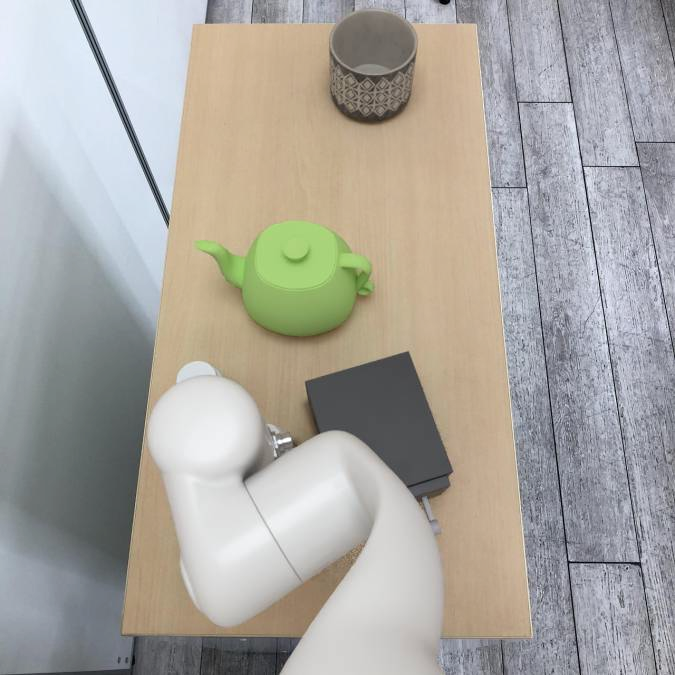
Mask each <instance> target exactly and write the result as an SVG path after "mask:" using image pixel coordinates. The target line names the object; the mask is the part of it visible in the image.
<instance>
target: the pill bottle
mask: <svg viewBox="0 0 675 675" xmlns="http://www.w3.org/2000/svg"><path fill="white" fill-rule="evenodd" d="M199 375H215V376H221V377H224V378H225V376H224V375H223V373H222V372H221V371H220V370H219V369H218V368H217V367H215V366H212V364H209V363H208V362H206V361H202V360H194V361H190V362H188V363H187V364H185V365H184V366H182V367H181V368H180V370H179V371H178V373H177V375H176V380H175V383H176V384H177V383H179V382H181V381H182V380H185V379H188V378H190V377H195V376H199Z"/></svg>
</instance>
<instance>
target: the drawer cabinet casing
mask: <svg viewBox="0 0 675 675" xmlns="http://www.w3.org/2000/svg"><path fill="white" fill-rule="evenodd" d="M304 386H305V392H306V397H307V403H308V406H309V410H310V413H311V416H312V420H313V423H314V427H315V430H316V434H317V435H318V434H321V433H323V432H327V431H333V430H340V431H345V432H348V433H350V434H352V435H354V436H356V437H357V438H359V439H360V440H361V441H362V442H364V443H365V444H366V445H367V446H368V447H369V448H370V449H371V450H372V451H374V452H375V454H376V455H377V456H378V457H379V458H380V459H381V460H382V461H383V462H384V463H385V464H386V465H387V466H388V467H389V468H390V469H391V470H392V471H393V472H394V473H395V474H396V475H397V476H398V477H399V479H400V480H401V481H402V482H403V483H404V484H405V486H406V487H410V486H413V485H417V484H420V483H423V482H426V481H429V480H432V479H436V478H439V477H442V476H445V475H447V476H448V478H449V477H450V476H451V475H452V474H453V473H454V469H453V466H452V464H451V461H450V458H449V456H448V453H447V451H446V450H447V449H446V447H445V445H444V442H443V440H442V439H443V438H442V436H441V435H440V430H439V428H438V425H437V423H436V420H435V418H434V415H433V413H432V410H431V407H430V405H429V402H428V399H427V396H426V394H425V391H424V388H423V386H422V383H421V380H420V377H419V375H418V372H417V369H416V367H415V365H414V362H413V359H412V355H411V353H410V351H409V350H407V351H404V352H400V353H397V354H393V355H390V356H387V357H383V358H380V359H375V360H373V361H369V362H366V363H363V364H360V365H355V366H352V367H349V368H345V369H342V370H338V371H335V372H331V373H328V374H325V375H321V376H318V377H315V378H314V377H313V378H312V379H311V378H310V379H308V380H305V381H304Z"/></svg>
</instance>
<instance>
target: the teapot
mask: <svg viewBox="0 0 675 675" xmlns="http://www.w3.org/2000/svg"><path fill="white" fill-rule="evenodd" d="M193 247H195V249H197V250H199V251H201V252H203V253H205V254H207V255H209V256H210V257H212V258H213V259H214V260H215V262H216V263H217V266H218V268H219V270H220V271H219V272H220V273H221V275H222V276H223V278H224V280H225V281H226V282H228V283H229V284H230V285H232V286H234V287H235V288H238V289H240V290H241V295H242V302H243V305H244V309H245V311H246V312H247V314H248V316H249V317H250V318H251V319H252V321H253V322H255V323H256V324H258V325H259V326H261V327H263V328H264V329H267V330H269V331H271V332H274V333H276V334H279V335H284V336H289V337H312V336H317V335H321V334H324V333H328V332H330V331H332V330H334V329H336V328H338V327H339V326H341V325H342V324H343V323H344V322H345V321H346V320H347V319H348V318H349V316H350V315H351V313H352V311H353V309H354V306H355V303H356V299H357V295H360V296H368V295H371V294H373V292H374V290H375V282H374V280H371V279H370V277H371V274H372V271H373V266H372V262H371V260H370V259H369V258H367V257H366V256H365V255H362V254H360V253H359V254H358V253H354V252H352V249H351V247H350V246H349V245H348V243H347V242H346V241H345V239H343V238H342V236H340V235H339V234H338V233H337V232H335V231H334V230H331V229H330V228H328V227H326V226H324V225H321V224H318V223H315V222H311V221H306V220H305V221H304V220H288V221H287V220H286V221H281V222H278V223H275V224H271V225H270V226H268V227H266V228H265V229H264V230H262V231H261V232H260V233H259V234H258V235H257V236H256V237H255V238H254V240H253V241H252V242H251V244H250V246H249V248H248V250H247V253H246V256H240V255H238V254H237V255H236V254H233V253H231V252H230V251H229V250H228V249H227V248H226V247H225V246H224V245H221V243H217V242H216V241H212V240H207V239H199V240H196V241H194V242H193ZM358 270H359V271H360V272H359V273H358Z"/></svg>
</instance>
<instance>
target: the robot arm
mask: <svg viewBox="0 0 675 675" xmlns="http://www.w3.org/2000/svg"><path fill="white" fill-rule="evenodd" d="M292 440H293V438H292V436H291V432H290V431H286V430H284V429H283V428H282V427H281V426H279V425H276V424H274V423H273V424H272V423H266V421H265V419H264V415H263V414H262V412H261V409H260V408H259V405H258V404H257V403H256V400H255V399H254V398H253V396H252V395H251V394H250V392H248V390H246V389H245V388H244V387H243V386H242V385H240V384H239V383H238V382H236V381H234V380H232V379H230V378H228V377H225V376H224V377H221V376H215V375H199V376H195V377H190V378H188V379H185V380H182V381H181V382H179V383H177V384H173V385H172V386H171V387H170V388H168V389H167V390H166V391H165V392H164V393H163V394H162V395H161V396H160V398H159V399H158V400H157V401H156V403H155V405H154V407H153V408H152V411H151V412H150V416H149V418H148V422H147V428H146V441H147V447H148V451H149V454H150V457H151V459H152V461H153V463H154V464H155V465H156V467H157V469H158V470H159V473H160V476H161V480H162V483H163V488H164V490H165V494H166V498H167V501H168V506H169V510H170V513H171V517H172V521H173V526H174V530H175V534H176V539H177V542H178V547H179V551H180V554H179V568H180V574H181V578H182V581H183V584H184V586H185V589H186V591H187V594H188V596H189V598H190V600H191V602H193V604H194V607H196V609H197V610H198V611H199V612H200V613H201V614H203V615H204V616H205V617H206V618H207V620H209V621H210V622H211V623H213V624H214V625H216V626H218V627H221V628H234V627H237V626H240V625H243V624H245V623H246V622H248V621H250V620H251V619H252V618H254V617H256V616H258V615H259V614H261V613H262V612H264V611H265V610H267V609H268V608H269V607H271V606H272V605H274V604H275V603H276V602H278V601H280V600H281V599H283V598H284V597H286V596H287V595H288V594H289V593H291V592H293V591H294V590H296V589H297V588H299V587H300V586H301V585H303V584H305V583H306V582H307V581H308V580H310V579H311V578H313V577H315V576H316V575H317V574H319V573H320V572H322V571H323V570H324V569H326V568H327V567H329V566H331V565H332V564H334V563H335V562H337V561H338V560H339V559H341V558H342V557H344V556H345V555H347V554H349V553H350V552H352V551H353V550H355V549H356V548H357V547H359V546H361V545H362V544H363V543H365V542H366V543H365V544H364V546H363V548H362V550H361V551H360V553H359V555H358V556H357V558H356V559H355V562H354V563H353V565H351V567H350V569H349V570H348V571H347V573H346V574H345V575H344V577H343V578H342V580H341V581H340V582H339V584H338V585H337V587H336V588H335V589H334V590H333V592H332V594H331V595H330V596H329V598H327V600H326V602H325V603H324V604H323V606H322V607H321V609H320V610H319V612H318V613H317V614H316V616H315V618H314V619H313V620H312V622H311V623H310V624H309V626H308V627H307V629H306V631H305V632H304V634H303V635H302V637H301V639H300V640H299V642H298V644H297V645H296V647H295V648H294V650H293V651H292V652H291V654H290V656H289V657H288V659H287V660H286V661H285V663H284V665H283V667H282V669H281V670H280V673H279V674H278V675H447V674H446V672H445V671H444V670H443V669H442V667H441V666H440V664H439V663H438V661H437V660H438V655H439V650H440V644H441V639H442V632H443V627H444V626H443V625H444V619H445V618H444V617H445V599H446V598H445V575H444V567H443V561H442V556H441V552H440V547H439V544H438V541H437V538H436V535H434V532H433V529H432V527H431V525H430V523H429V520H428V517H427V514H426V512H425V510H424V509H423V508H422V507H421V505H420V502H417V500H416V499H415V497H414V496H413V495H412V493H411V492H410V491H409V489H408V488H407V487H406V486H405V484H404V483H403V482H402V481H401V480H400V479H399V477H398V476H397V475H396V474H395V473H394V472H393V471H392V470H391V469H390V468H389V467H388V466H387V465H386V464H385V463H384V462H383V461H382V460H381V459H380V458H379V457H378V456H377V455H376V454H375V452H374V451H372V450H371V449H370V448H369V447H368V446H367V445H366V444H365V443H364V442H362V441H361V440H360V439H359V438H357V437H356V436H354V435H352V434H350V433H348V432H345V431H340V430H333V431H327V432H323V433H321V434H317V435H314V436H312V437H311V438H309V439H307V440H306V441H304V442H302V443H300V444H299V445H297V446H295V445H294V446H295V448H294V446H293V443H294V442H293V443H292ZM289 450H290V451H289Z"/></svg>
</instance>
